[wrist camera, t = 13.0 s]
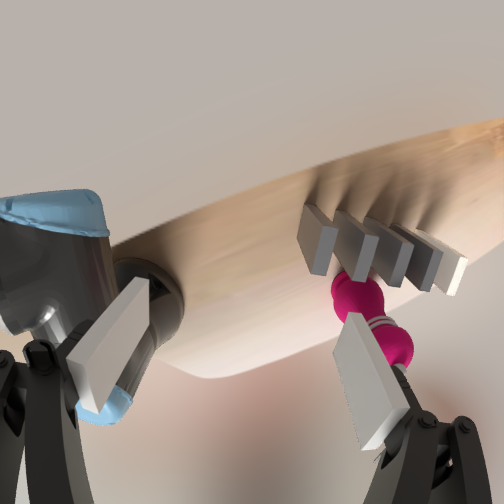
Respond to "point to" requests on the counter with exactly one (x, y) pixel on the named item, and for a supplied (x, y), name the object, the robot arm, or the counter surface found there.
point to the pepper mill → (373, 317)
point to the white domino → (446, 265)
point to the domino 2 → (354, 246)
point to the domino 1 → (316, 239)
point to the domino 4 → (420, 259)
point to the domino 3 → (389, 253)
